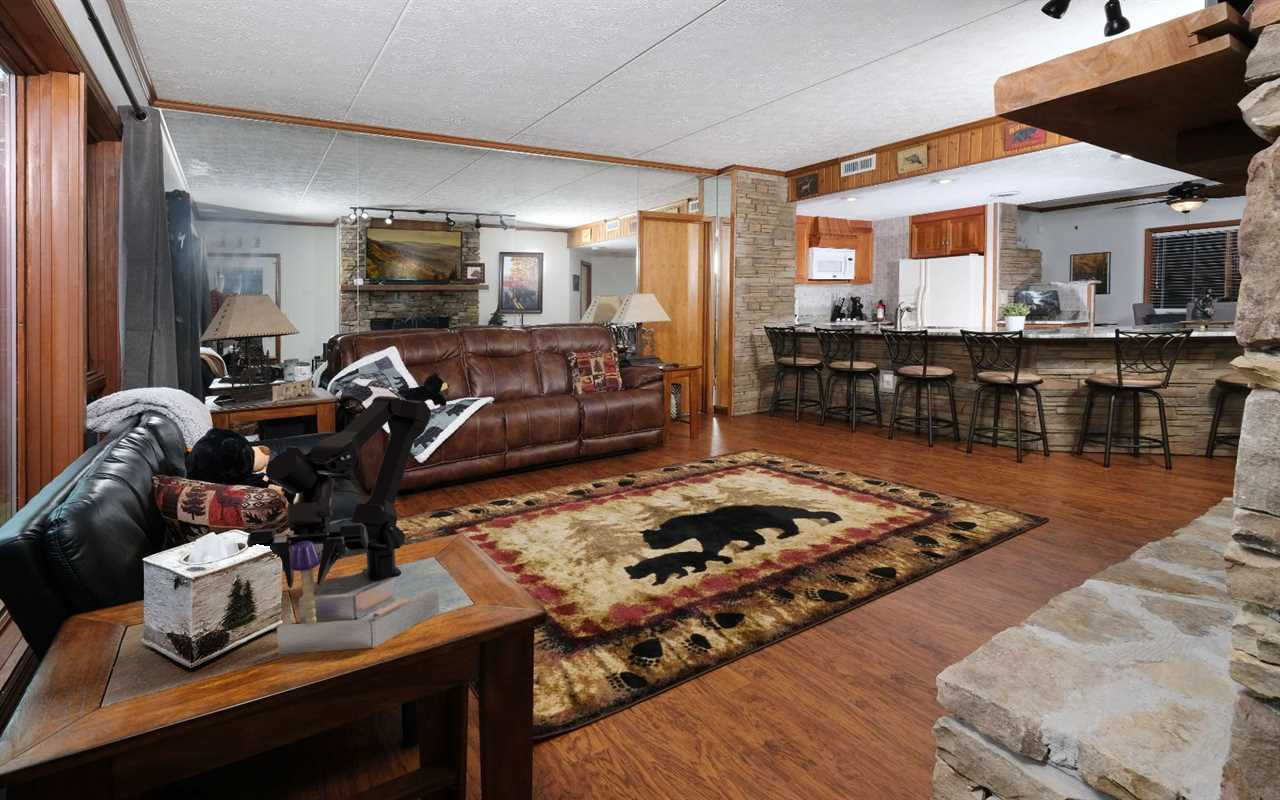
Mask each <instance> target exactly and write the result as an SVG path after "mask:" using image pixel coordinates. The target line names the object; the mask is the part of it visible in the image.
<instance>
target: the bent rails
mask: <svg viewBox="0 0 1280 800" xmlns="http://www.w3.org/2000/svg"><path fill="white" fill-rule="evenodd" d="M396 593H397V592H396V578H395V577H394V576H391V577H386V578H384V579H381V581H378V582H376V583H373V584H371V585H369V586H367V587H365V588H362V589H360V590H358V591H356V592H354V593H342V594H327V595H324V594H323V595H314V598H313V599H314V601H315V606H314V608H315V611H316V614H315V617H316V623H305V619H306V617H305V614H304V611H305V608H304V606H303V603H304V600H303V596H300V597H299V599H298V605H299V606H298V607H299V618H300V621H299V622H300V623H294V624H293V623H290V624H279V625H278V626H277V627H276V633H277V634H276V635H277V638H276V639H277V651H278V655H286V654H287V655H288V654H301V653H316V652H331V651H343V650H346V651H347V650H356V649H371V648H372V649H374V648H378V646H380V645H382V644H383V643H385V642H387V641H389V640H390V639H393V638H395V637H396V636H398V635H400V634H401V633H403V632H405V631H407V630H409V629H411V628H413V627H415V626H417V625H419V624H420V623H422V622H424V621H425V620H428V619H429V618H431V617H433V616H435V615H437V614H439V613H440V602H439V601H440V600H439V598H440V597H439V589H438V588H435V587H433V588H431V589H429V590H426V591H424V592H422V593H421V594H419V595H417V596H415V597H413V598H411V599H407V600H408V601H406V602H404V603H402V604H400V605H398V606H396V607H394V608H392V609H390V610H388V611H386V612H384V613H382V614H380V615H378V616H376V615H375V616H374V617H373V618H367V619H365V618H364V619H360V618H361V617H364V616H366V615H368V614H370V613H372V612H374V611H376V610H379V609H381V608H382V607H383V608H384V606H387V605H389V604H392V603H393V602H394V601H395V602H396V600H397V598H396V597H397V596H396V595H397V594H396Z"/></svg>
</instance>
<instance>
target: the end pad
mask: <svg viewBox="0 0 1280 800" xmlns="http://www.w3.org/2000/svg"><path fill="white" fill-rule="evenodd" d="M408 600H409V599H405V598H402V599H400V600H398V601H395V602H394V603H391V604H390V605H388V606H387V605H386V607H383V608H382V609H381V608H380V610H379V609H378V611H376V612H374V613H373V614H374V616H375V617H376V616H378V615H380V614H382V613H384V612H386V611H388V610H390V609H392V608H394V607H396V606H398V605H400V604H402V603H404V602H406V601H408Z"/></svg>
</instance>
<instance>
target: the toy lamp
mask: <svg viewBox="0 0 1280 800" xmlns="http://www.w3.org/2000/svg"><path fill="white" fill-rule="evenodd" d="M318 554H319V553H317V552H316V549H315V547H314V545H313V543H312V542H311V541H301V542H298V543H296V544H295V545H294V546H293V549H292V555H291V561H290V568H291V569H292V570H294V572H295V571H296V572H297V571H298V572H300V575H301V577H300V582H301V584H302V585H301V590H302V597H303V600H304V603H303V606H304V608H305V611H304V614H305V617H306V619H305V623H317V622H316V617H315V614H316V611H315V608H314V606H315V601H314V599H313V598H314V596H315V594H314V593H315V592H314V593H313V591H312V590H313V584H312V575H311V571H312V568H313V569H314V568H317V567H318V566H320V562H321V558H320V557H319V555H318Z"/></svg>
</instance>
